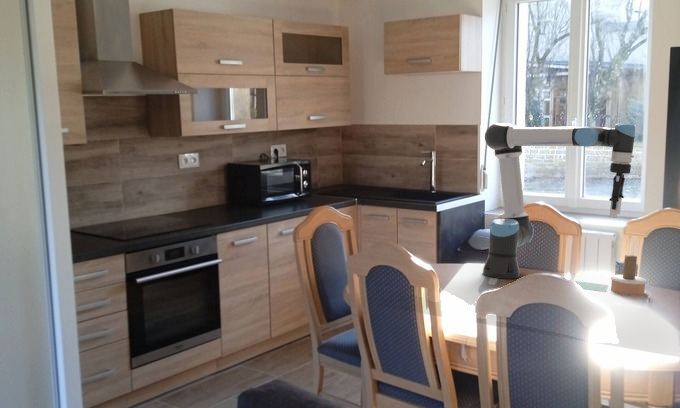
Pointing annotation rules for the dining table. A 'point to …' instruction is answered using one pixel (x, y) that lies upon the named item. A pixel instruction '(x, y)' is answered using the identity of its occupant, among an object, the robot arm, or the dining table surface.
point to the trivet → (593, 286)
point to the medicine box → (622, 268)
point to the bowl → (627, 288)
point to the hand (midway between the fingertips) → (614, 215)
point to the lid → (629, 272)
